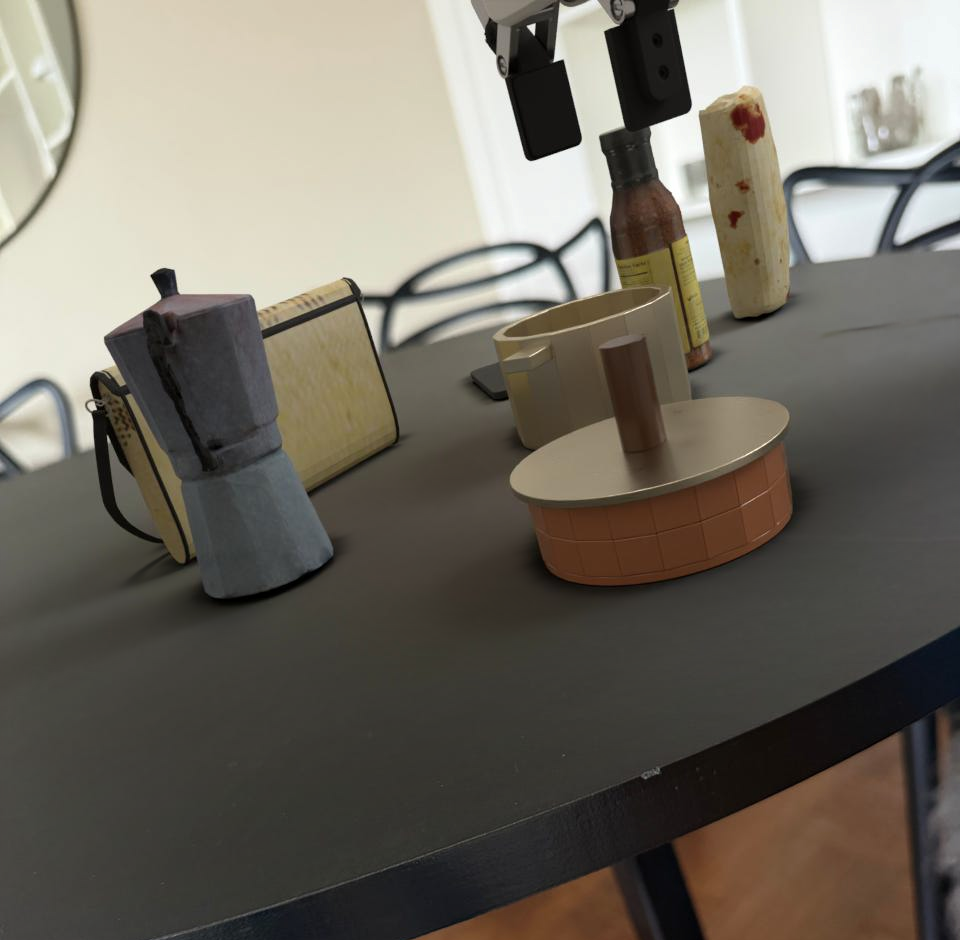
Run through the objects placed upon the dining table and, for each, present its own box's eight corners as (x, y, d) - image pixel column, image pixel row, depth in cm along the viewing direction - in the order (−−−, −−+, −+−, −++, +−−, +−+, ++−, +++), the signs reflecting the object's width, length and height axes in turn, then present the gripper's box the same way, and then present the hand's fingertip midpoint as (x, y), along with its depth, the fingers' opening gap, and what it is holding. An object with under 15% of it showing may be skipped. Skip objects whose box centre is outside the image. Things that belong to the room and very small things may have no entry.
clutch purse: (365, 441, 98) (312, 283, 92) (419, 436, 94) (367, 269, 88) (116, 579, 79) (28, 389, 73) (170, 580, 74) (81, 378, 68)
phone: (493, 394, 97) (467, 371, 111) (496, 402, 98) (469, 379, 111) (567, 370, 98) (532, 351, 111) (569, 378, 98) (534, 358, 112)
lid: (833, 404, 55) (816, 278, 52) (722, 515, 45) (694, 368, 42) (597, 427, 64) (572, 322, 61) (462, 524, 54) (425, 403, 51)
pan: (829, 476, 56) (817, 397, 55) (731, 587, 47) (714, 497, 46) (615, 488, 65) (599, 420, 63) (498, 584, 56) (475, 508, 54)
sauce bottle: (692, 354, 93) (646, 117, 85) (727, 359, 87) (682, 107, 79) (627, 377, 92) (575, 140, 84) (659, 384, 86) (607, 130, 78)
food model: (795, 314, 96) (760, 80, 88) (723, 330, 98) (683, 104, 90) (802, 293, 104) (771, 76, 96) (736, 308, 106) (700, 99, 98)
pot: (733, 372, 83) (714, 264, 80) (624, 457, 70) (596, 334, 67) (590, 390, 91) (568, 293, 88) (470, 469, 79) (438, 360, 75)
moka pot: (340, 522, 75) (241, 243, 67) (349, 592, 61) (225, 249, 53) (215, 562, 75) (101, 286, 67) (196, 642, 61) (47, 304, 53)
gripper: (701, -464, 35) (786, 81, 42) (493, -230, 50) (581, 142, 57) (511, -433, 33) (634, 134, 40) (354, -199, 48) (463, 183, 55)
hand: (602, 139), depth 49 cm, fingers open, 9 cm apart
